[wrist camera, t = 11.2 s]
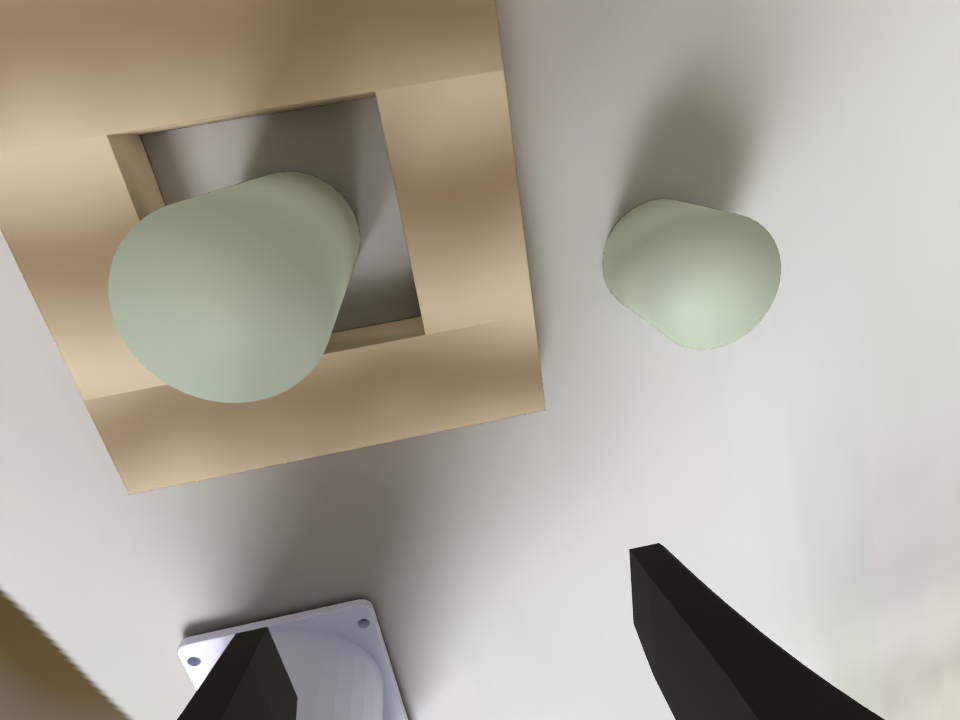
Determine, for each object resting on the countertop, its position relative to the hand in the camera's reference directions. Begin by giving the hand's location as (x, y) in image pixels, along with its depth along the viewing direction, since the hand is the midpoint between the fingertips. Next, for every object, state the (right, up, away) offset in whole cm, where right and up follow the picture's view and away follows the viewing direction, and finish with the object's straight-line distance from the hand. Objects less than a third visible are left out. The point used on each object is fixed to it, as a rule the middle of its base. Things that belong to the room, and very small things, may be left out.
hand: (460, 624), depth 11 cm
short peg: (+7, +9, +9) cm, 14 cm away
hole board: (-6, +9, +7) cm, 13 cm away
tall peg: (-6, +9, +7) cm, 13 cm away
